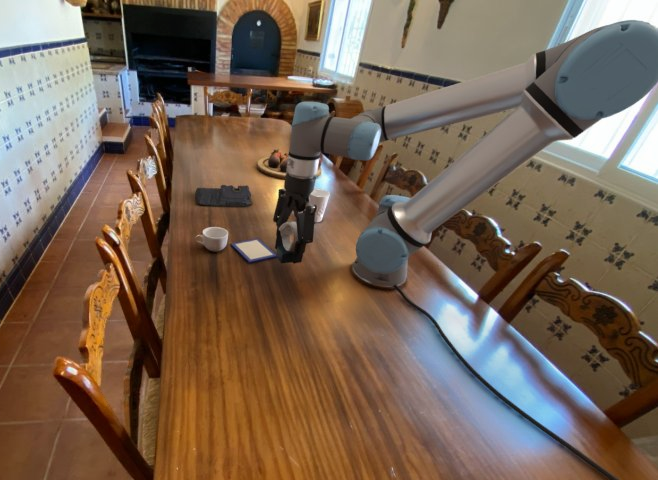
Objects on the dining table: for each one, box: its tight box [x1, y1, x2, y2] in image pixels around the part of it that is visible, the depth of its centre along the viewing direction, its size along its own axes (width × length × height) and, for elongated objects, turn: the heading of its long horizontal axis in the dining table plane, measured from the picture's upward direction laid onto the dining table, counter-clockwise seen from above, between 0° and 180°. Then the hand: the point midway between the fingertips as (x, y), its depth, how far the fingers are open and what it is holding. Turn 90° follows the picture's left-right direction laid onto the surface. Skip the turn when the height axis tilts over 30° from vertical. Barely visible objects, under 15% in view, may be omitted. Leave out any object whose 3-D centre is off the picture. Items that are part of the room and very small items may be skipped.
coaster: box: [230, 238, 277, 264], centre depth 112 cm, size 12×10×1 cm
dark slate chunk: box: [194, 184, 252, 208], centre depth 142 cm, size 15×22×5 cm
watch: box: [275, 220, 298, 264], centre depth 100 cm, size 6×8×11 cm
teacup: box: [195, 226, 229, 252], centre depth 110 cm, size 10×8×5 cm
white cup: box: [309, 188, 331, 223], centre depth 131 cm, size 8×8×10 cm
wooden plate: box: [256, 148, 323, 180], centre depth 175 cm, size 32×32×8 cm
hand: (287, 254), depth 102 cm, fingers closed on watch, 8 cm apart
